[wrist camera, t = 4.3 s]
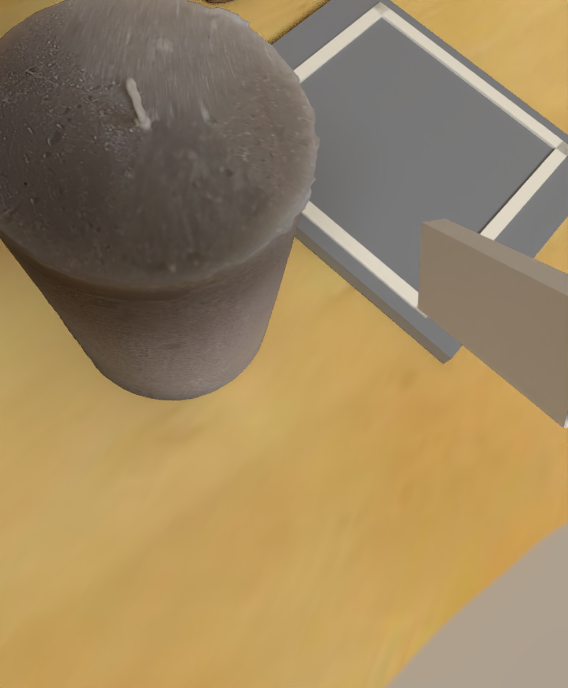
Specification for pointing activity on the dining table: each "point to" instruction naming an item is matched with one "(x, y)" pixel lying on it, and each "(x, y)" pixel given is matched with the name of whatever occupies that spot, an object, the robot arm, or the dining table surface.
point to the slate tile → (414, 154)
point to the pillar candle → (153, 183)
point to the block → (215, 0)
